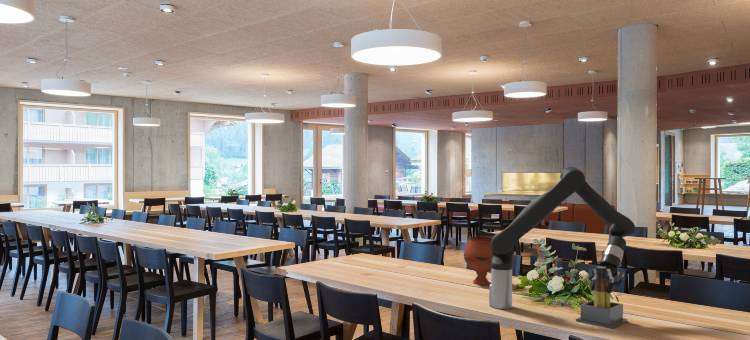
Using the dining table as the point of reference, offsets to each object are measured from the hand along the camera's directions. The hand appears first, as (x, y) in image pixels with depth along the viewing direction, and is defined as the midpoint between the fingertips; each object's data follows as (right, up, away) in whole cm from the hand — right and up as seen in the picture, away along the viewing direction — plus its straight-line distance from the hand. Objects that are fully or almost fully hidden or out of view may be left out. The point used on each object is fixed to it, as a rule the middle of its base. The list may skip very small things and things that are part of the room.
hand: (600, 290), depth 225 cm
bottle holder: (+1, -13, +1) cm, 13 cm away
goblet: (-34, -13, +77) cm, 85 cm away
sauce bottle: (+1, -11, +1) cm, 11 cm away
